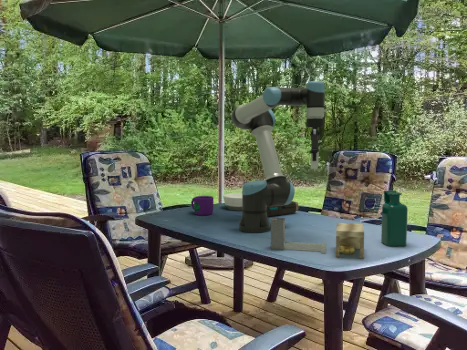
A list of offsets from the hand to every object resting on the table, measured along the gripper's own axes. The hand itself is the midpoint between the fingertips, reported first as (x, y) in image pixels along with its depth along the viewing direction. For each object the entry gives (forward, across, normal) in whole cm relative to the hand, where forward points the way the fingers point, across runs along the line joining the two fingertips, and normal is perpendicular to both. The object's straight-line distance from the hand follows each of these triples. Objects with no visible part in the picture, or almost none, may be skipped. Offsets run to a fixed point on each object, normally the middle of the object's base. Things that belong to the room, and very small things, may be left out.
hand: (314, 167), depth 188 cm
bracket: (+32, -19, +5) cm, 37 cm away
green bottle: (+32, -2, -33) cm, 46 cm away
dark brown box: (+32, +52, +23) cm, 65 cm away
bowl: (+32, +71, +47) cm, 91 cm away
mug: (+32, +50, +67) cm, 89 cm away
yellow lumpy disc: (+32, -19, -13) cm, 39 cm away
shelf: (+31, -19, -14) cm, 40 cm away
